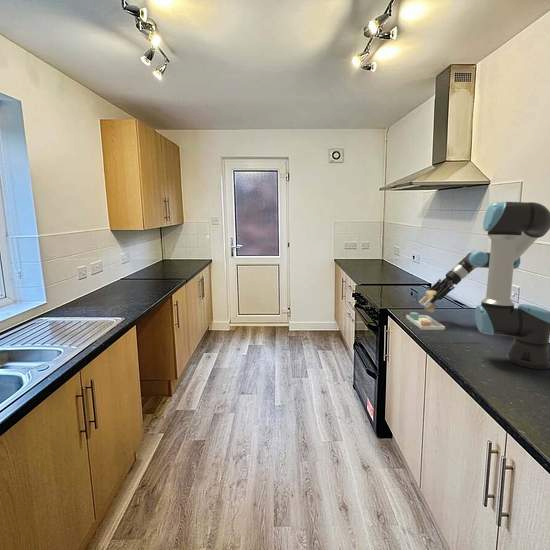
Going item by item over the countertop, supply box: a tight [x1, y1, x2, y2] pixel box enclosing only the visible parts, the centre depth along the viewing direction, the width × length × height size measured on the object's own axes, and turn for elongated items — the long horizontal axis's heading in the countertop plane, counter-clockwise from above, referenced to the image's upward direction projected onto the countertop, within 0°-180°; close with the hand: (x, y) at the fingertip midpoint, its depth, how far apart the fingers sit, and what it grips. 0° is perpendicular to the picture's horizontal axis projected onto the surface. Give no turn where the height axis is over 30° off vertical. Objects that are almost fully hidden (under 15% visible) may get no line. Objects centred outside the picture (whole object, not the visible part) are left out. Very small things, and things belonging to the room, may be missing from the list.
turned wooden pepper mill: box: [423, 289, 436, 313], centre depth 195 cm, size 5×5×11 cm
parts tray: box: [405, 314, 446, 331], centre depth 197 cm, size 21×12×2 cm, turn 3°
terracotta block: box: [421, 320, 431, 326], centre depth 189 cm, size 4×4×4 cm
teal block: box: [409, 311, 420, 320], centre depth 204 cm, size 4×4×4 cm
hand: (422, 305), depth 196 cm, fingers closed on turned wooden pepper mill, 5 cm apart
